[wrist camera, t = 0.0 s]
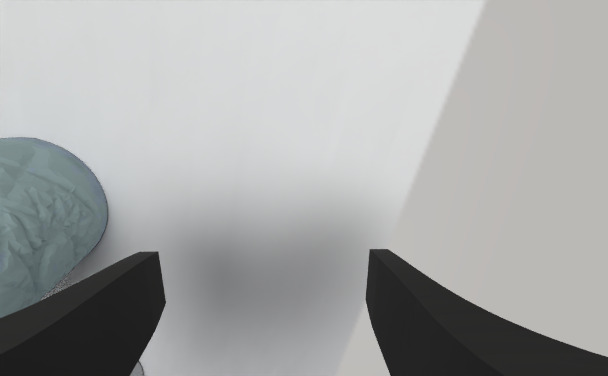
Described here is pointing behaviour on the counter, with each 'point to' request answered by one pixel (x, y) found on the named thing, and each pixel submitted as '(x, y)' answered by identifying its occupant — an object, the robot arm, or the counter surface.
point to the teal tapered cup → (43, 218)
